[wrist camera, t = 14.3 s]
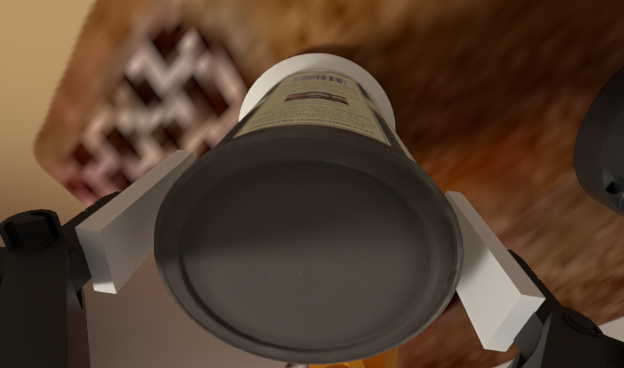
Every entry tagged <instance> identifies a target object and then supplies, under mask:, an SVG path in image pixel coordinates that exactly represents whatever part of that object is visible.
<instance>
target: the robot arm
mask: <svg viewBox="0 0 624 368" xmlns="http://www.w3.org/2000/svg"><path fill="white" fill-rule="evenodd" d="M193 163H194V160H193V152H190V151H183V150H177V151H176V152H174V153H173V154H172V155H171V156H169V157H168V158H167V159H165V160H164V161H163V162H161V163H160V164H159V165H157V166H156V167H155V168H153V169H152V170H151V171H149V172H148V173H147V174H145V175H144V176H143V177H141V178H140V179H139V180H137V181H136V182H135V183H133V184H132V185H131V186H129V187H128V188H127V189H125V190H124V191H123V192H118V191H116V192H114V193H111V194H109V195H106V196H104V197H102V198H101V199H99V200H98V201H96V202H95V203H94V204H93V206H92V205H91V206H89V207H88V208H87V209H85V211H84V212H83V211H82V212H81V213H80V214H78V215H77V216H76V217H74V218H73V219H71V220H70V221H69V222H67V223H66V224H64V225H63V226H61V224H60V221H59V218H58V215H57V213H56V212H54V211H51V210H44V209H40V210H30V211H26V212H22V213H18V214H16V215H14V216H11V217H9V218H7V219H6V220H4V221H3V222H1V223H0V235H1V237H2V239H3V241H4V243H5V245H6V247H0V368H90V355H89V343H88V331H87V319H86V308H85V296H84V291H83V288H82V287H83V286H84V285H85V284H86V283H87V282H88V281H89V280H90V279H91V281H92V284H93V286H94V290H95V291H101V292H108V293H115V294H116V293H117V292H118V291H119V289H121V287H122V286H123V285H124V284H125V283H126V281H127V280H128V279H129V278H130V277H131V275H132V274H133V273H134V272H135V271H136V269H137V268H138V267H139V266H140V265H141V263H142V262H143V261H144V260H145V259H146V257H147V256H148V255H149V254H150V253H151V251H152V250H153V249H154V228H155V221H156V218H157V215H158V211H159V208H160V205H161V203H162V201H163V199H164V197H165V195H166V194H167V192H168V191H169V189H170V188H171V186H172V184H173V183H174V182H175V181H176V180H177V179H178V178H179V176H180V175H181V174H182V173H183V172H184V171H185V170H186V169H187V168H188V167H189V166H191V165H192V164H193ZM574 168H575V172H576V176H577V178H578V181H579V183H580V184H581V186H582V187H583V189H584V190H585V191H586V192H587V193H588V194H589V195H590V196H591V197H593V198H594V199H595V200H597V201H599V202H600V203H602V204H603V205H605V206H606V207H608V208H610V209H611V210H613V211H614V212H616V213H618V214H620V215H622V216H624V67H623V68H622V69H621V70H620V71H619V72H618V73H617V74H616V75H615V76H614V77H613V79H612V80H611V81H610V82H609V83H608V84H607V85H606V87H605V88H604V89H603V90H602V92H601V93H600V94H599V95H598V97H597V98H596V100H595V101H594V103H593V104H592V106H591V107H590V109H589V111H588V113H587V114H586V116H585V118H584V120H583V122H582V125H581V127H580V130H579V132H578V135H577V139H576V143H575V149H574ZM445 197H446V198H447V200H448V201H449V202H450V204H451V206H452V207H453V210H454V212H455V214H456V216H457V219H458V222H459V225H460V228H461V233H462V238H463V248H464V257H463V268H462V273H461V277H460V280H459V283H458V286H457V288H456V290H457V293H458V295H459V297H460V299H461V301H462V303H463V305H464V307H465V309H466V311H467V313H468V316H469V318H470V320H471V322H472V324H473V326H474V328H475V330H476V332H477V334H478V336H479V339H480V341H481V343H482V345H483V347H484V349H490V350H497V351H504V352H506V351H507V349H508V348H509V347H510V345H511V344H512V343H513V341H514V342H515V343H516V345H517V347H518V348H519V350H520V352H519V353H518V355H517V356H516V357H515V359H514V360H513V361H512V362H511V364H510V365H509V366H508V368H624V342H622V341H619V340H617V339H614V338H611V337H608V336H606V335H603V332H602V331H601V330H600V329H599V327H598V326H597V325H596V324H595V323H594V322H592V321H591V320H590V319H589V318H587V317H586V316H584V315H583V314H581V313H580V312H577V311H575V310H573V309H571V308H567V307H563V306H562V305H561V304H560V303H559V302H558V301H557V299H556V298H555V297H554V296H553V295H552V293H551V292H550V291H549V290H548V289H547V287H546V286H545V285H544V284H543V283H542V281H541V280H540V279H538V277H537V275H536V274H535V273H534V272H533V271H531V268H530V267H529V266H528V265H527V264H526V262H525V261H524V260H523V259H522V258H521V257H519V256H518V255H517V254H515V253H514V252H513V251H512V250H507V249H506V248H505V247H504V245H503V244H502V243H501V242H500V240H499V239H498V238H497V237H496V235H495V234H494V233H493V232H492V230H491V229H490V228H489V227H488V225H487V224H486V223H485V222H484V220H483V219H482V218H481V217H480V215H479V214H478V213H477V212H476V210H475V209H474V208H473V207H472V205H471V204H470V203H469V202H468V200H467V199H466V198H465V197H464V195H463V194H462V193H459V192H453V191H446V193H445Z"/></svg>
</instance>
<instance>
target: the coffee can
mask: <svg viewBox="0 0 624 368" xmlns="http://www.w3.org/2000/svg"><path fill="white" fill-rule="evenodd" d="M154 252H155V254H154V255H155V260H156V265H157V269H158V272H159V275H160V277H161V279H162V281H163V284H164V286H165V287H166V289H167V290H168V292H169V294H170V296H171V297H172V298H173V300H174V301H175V303H176V304H177V305H178V306H179V307H180V308H181V310H182V311H183V312H184V313H185V314H186V315H187V316H188V317H189V318H190V319H191V320H193V321H194V322H195V323H196V324H197V325H198V326H200V327H201V328H202V329H203V330H205V331H206V332H207V333H209V334H211V335H212V336H214V337H216V338H217V339H219V340H221V341H222V342H224V343H226V344H228V345H230V346H232V347H235V348H238V349H240V350H243V351H245V352H248V353H250V354H253V355H256V356H259V357H262V358H267V359H272V360H276V361H281V362H288V363H295V364H306V365H323V364H338V363H345V362H352V361H357V360H361V359H366V358H370V357H373V356H375V355H378V354H382V353H385V352H387V351H389V350H392V349H394V348H396V347H398V346H400V345H402V344H404V343H406V342H408V341H409V340H411V339H412V338H414V337H415V336H417V335H418V334H420V333H421V332H422V331H424V330H425V329H426V328H427V327H428V326H429V325H430V324H431V323H432V322H434V321H435V320H436V318H437V317H438V316H439V315H440V314H441V313H442V312H443V310H444V309H445V308H446V306H447V305H448V303H449V302H450V300H451V298H452V296H453V295H454V293H455V290H456V288H457V286H458V283H459V280H460V277H461V273H462V268H463V257H464V248H463V238H462V233H461V228H460V225H459V222H458V219H457V216H456V214H455V212H454V210H453V207H452V206H451V204H450V202H449V201H448V200H447V198H446V197H445V195H444V194H443V193H442V191H441V190H440V189H439V187H438V186H437V185H436V184H435V182H434V181H433V180H432V179H431V178H430V176H429V175H428V174H427V173H426V172H425V171H424V170H423V169H422V168H421V167H420V166H419V165H418V164H417V163H416V162H415V160H414V159H413V157H412V156H411V154H410V153H409V151H408V150H407V148H406V147H405V145H404V144H403V142H402V141H401V139H400V138H399V136H398V135H397V133H396V132H395V130H394V129H393V127H392V125H391V124H390V123H389V121H388V120H387V119H386V117H385V116H384V114H383V113H382V111H381V109H380V107H379V105H378V104H377V102H376V99H375V98H374V97H373V95H372V94H371V93H370V91H369V90H368V89H367V88H366V87H365V86H363V85H362V84H361V83H360V82H358V81H357V80H356V79H354V78H352V77H351V76H349V75H346V74H344V73H342V72H338V71H335V70H330V69H306V70H301V71H298V72H295V73H292V74H290V75H287V76H285V77H283V78H282V79H280V80H279V81H277V82H276V83H275V84H274V85H272V86H271V87H270V88H269V89H268V91H267V92H266V93H265V94H264V95H263V97H262V98H261V99H260V100H259V101H258V103H257V104H256V105H255V106H254V107H253V108H252V109H251V110H250V111H249V112H248V113H247V114H246V115H245V116H244V117H243V118H242V119H241V121H240V122H238V123H237V124H236V125H235V126H234V128H233V129H232V130H231V131H230V132H229V133H228V134H227V135H226V136H225V137H224V138H223V139H222V140H221V141H220V142H219V143H218V144H217V145H216V146H215V148H213V149H211V150H210V151H208V152H207V153H205V154H204V155H203V156H201V157H200V158H199V159H198V160H196V161H195V162H194V163H193V164H192V165H191V166H189V167H188V168H187V169H186V170H185V171H184V172H183V173H182V174H181V175H180V176H179V178H178V179H177V180H176V181H175V182H174V183H173V184H172V186H171V188H170V189H169V191H168V192H167V194H166V195H165V197H164V199H163V201H162V203H161V205H160V208H159V211H158V215H157V218H156V221H155V228H154Z"/></svg>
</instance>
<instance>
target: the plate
mask: <svg viewBox="0 0 624 368" xmlns="http://www.w3.org/2000/svg"><path fill="white" fill-rule="evenodd" d="M306 69H330V70H335V71H338V72H342V73H344V74H346V75H349V76H351V77H352V78H354V79H356V80H357V81H358V82H360V83H361V84H362V85H363V86H365V87H366V88H367V89H368V90H369V91H370V93H371V94H372V95H373V97H374V98H375V99H376V102H377V104H378V105H379V107H380V109H381V111H382V113H383V114H384V116H385V117H386V119H387V120H388V121H389V123H390V124H391V125H392V127H393V129H394V130H395V119H394V114H393V110H392V107H391V104H390V101H389V99H388V97H387V95H386V94H385V92H384V90H383V89H382V87H381V86H380V85H379V83H378V82H377V81H376V80H375V79H374V78H373V77H372V76H371V75H370V74H369V73H368V72H367V71H366V70H365V69H363V68H362V67H361V66H359V65H358V64H356V63H354V62H352V61H351V60H348V59H346V58H343V57H341V56H337V55H333V54H328V53H306V54H301V55H296V56H293V57H290V58H288V59H285V60H283V61H281V62H280V63H278V64H276V65H274V66H273V67H271V68H270V69H269V70H267V71H266V72H265V73H264V74H263V75H262V76H261V77H260V78H259V79H258V80H257V81H256V82H255V83H254V85H253V86H252V87H251V89H250V90H249V92H248V94H247V96H246V97H245V100H244V102H243V105H242V107H241V112H240V116H239V122H240V121H241V119H242V118H243V117H244V116H245V115H246V114H247V113H248V112H249V111H250V110H251V109H252V108H253V107H254V106H255V105H256V104H257V103H258V101H259V100H260V99H261V98H262V97H263V95H264V94H265V93H266V92H267V91H268V89H269V88H270V87H271V86H272V85H274V84H275V83H276V82H277V81H279V80H280V79H282V78H283V77H285V76H287V75H290V74H292V73H295V72H298V71H301V70H306ZM395 132H396V130H395Z"/></svg>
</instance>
